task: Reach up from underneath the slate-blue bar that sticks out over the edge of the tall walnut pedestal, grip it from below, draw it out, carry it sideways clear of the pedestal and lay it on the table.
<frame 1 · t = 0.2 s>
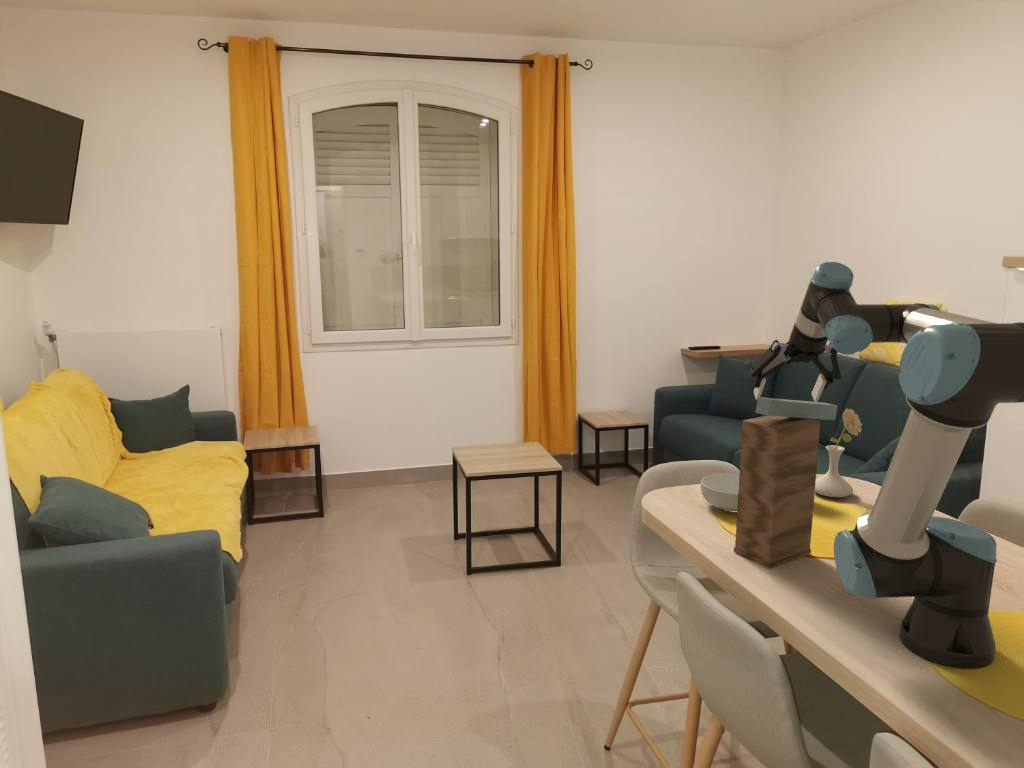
hand: (785, 396, 179), 36 cm above the table, tool tilted 35°, fingers open, 13 cm apart
cereal bowl: (731, 508, 209), on the table
flower in vase: (833, 494, 219), on the table
pedestal: (772, 553, 179), on the table
bar: (796, 416, 175), point 32 cm above the table, tilted 10°, touching pedestal
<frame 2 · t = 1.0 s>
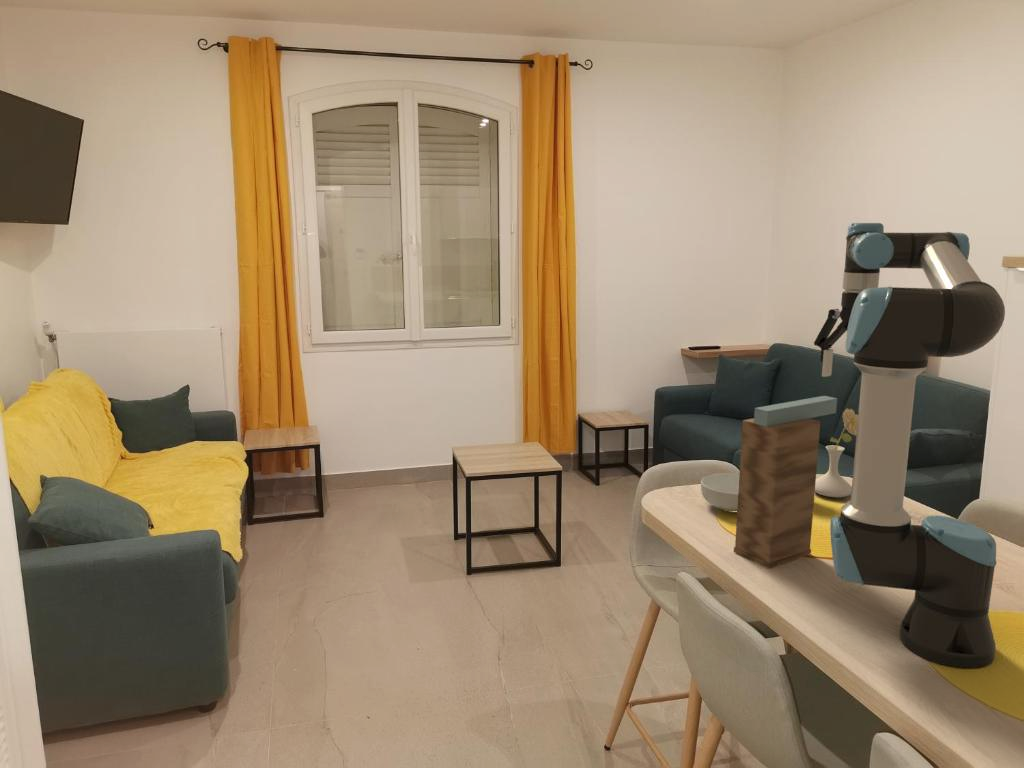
hand: (851, 380, 181), 39 cm above the table, tool pointing down, fingers open, 13 cm apart
bar: (796, 417, 176), point 32 cm above the table, touching pedestal
everything else where it was.
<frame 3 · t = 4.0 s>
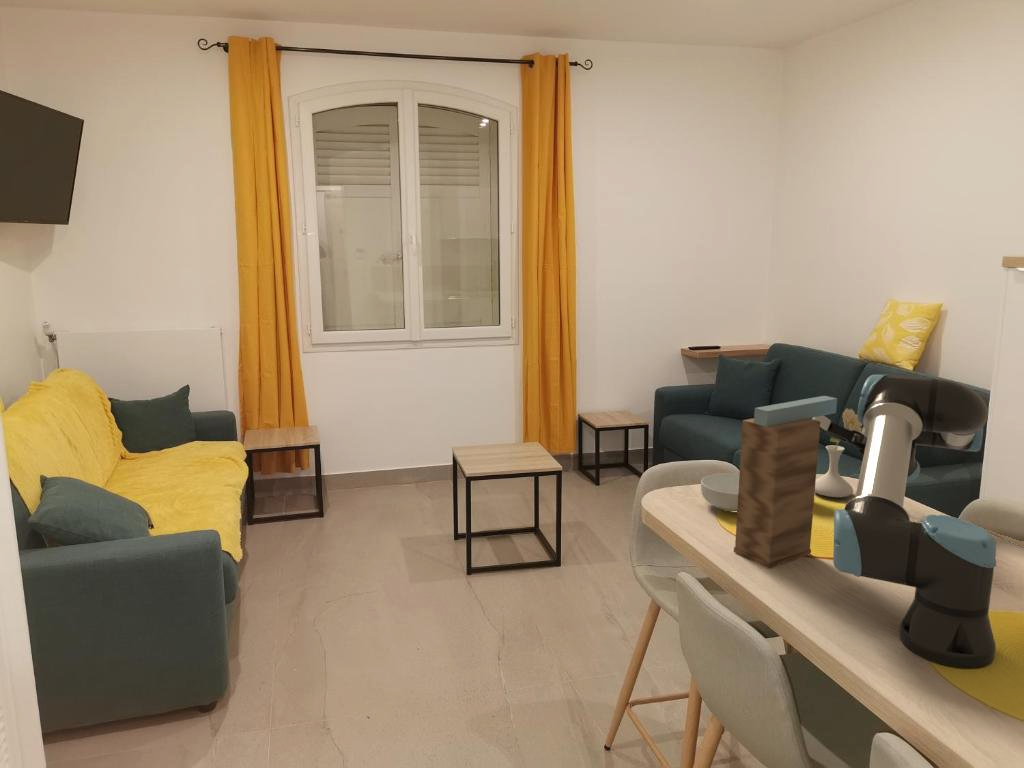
hand: (838, 421, 184), 29 cm above the table, tool pointing upward, fingers open, 13 cm apart
nothing on the table moved.
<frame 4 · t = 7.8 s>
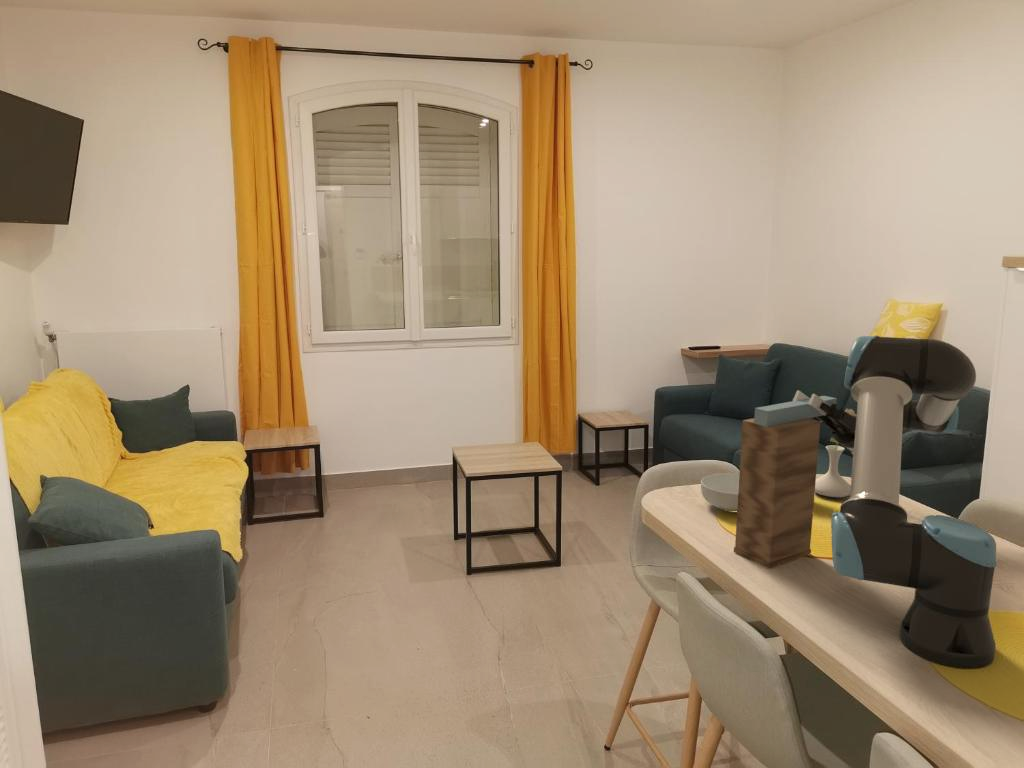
hand: (804, 397, 176), 37 cm above the table, tool pointing upward, fingers closed on bar, 3 cm apart
bar: (795, 417, 176), point 32 cm above the table, touching gripper, pedestal
everything else where it was.
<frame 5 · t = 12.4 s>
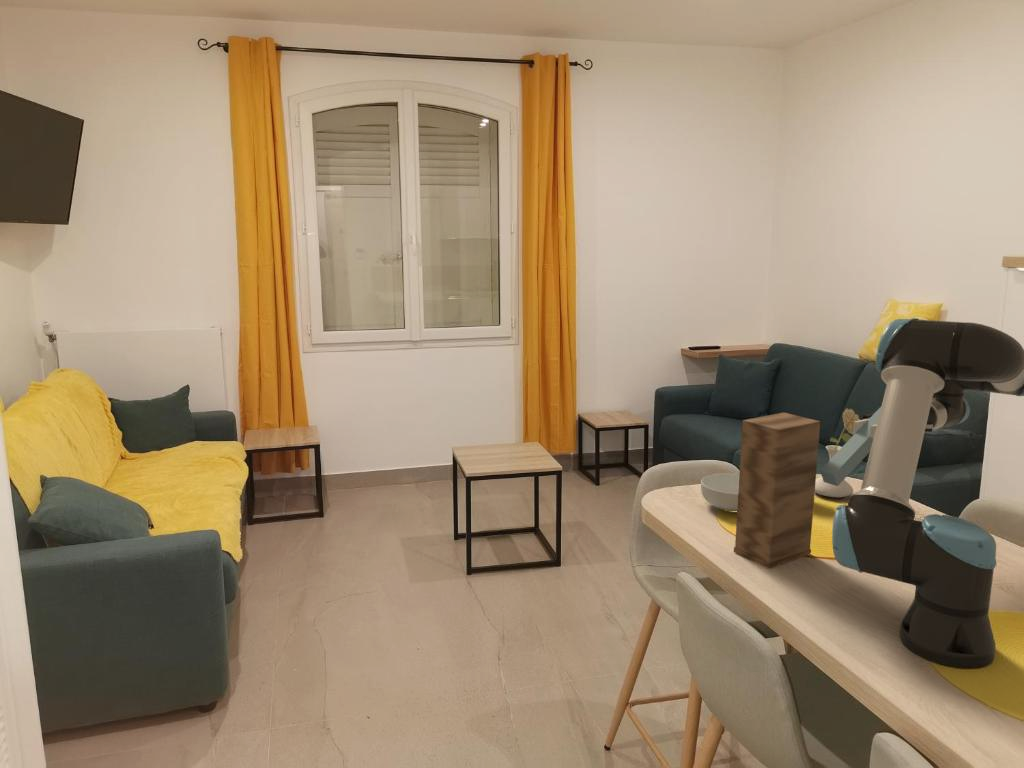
hand: (863, 429, 173), 30 cm above the table, tool horizontal, fingers closed on bar, 3 cm apart
bar: (861, 451, 174), point 25 cm above the table, tilted 30°, touching gripper
everything else where it was.
when the fingers open (7 cm above the table, at t = 16.5 s): bar drops 4 cm, on the table.
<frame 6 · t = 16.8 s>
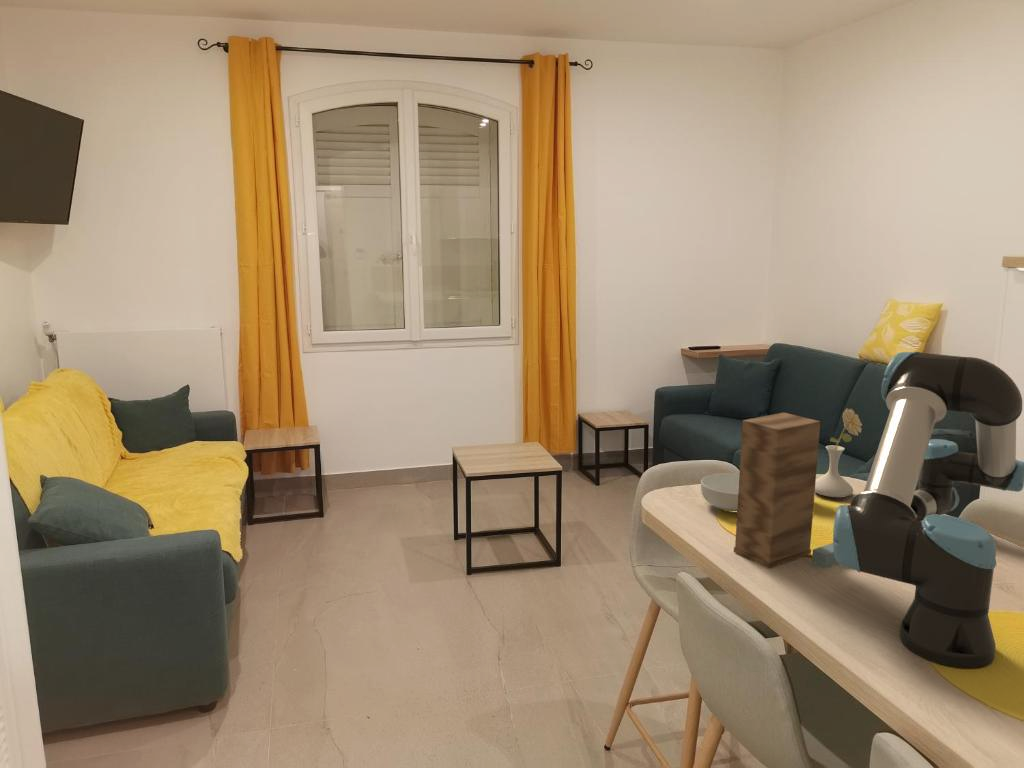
hand: (855, 526, 178), 7 cm above the table, tool horizontal, fingers open, 8 cm apart
bar: (851, 555, 179), on the table
everything else where it was.
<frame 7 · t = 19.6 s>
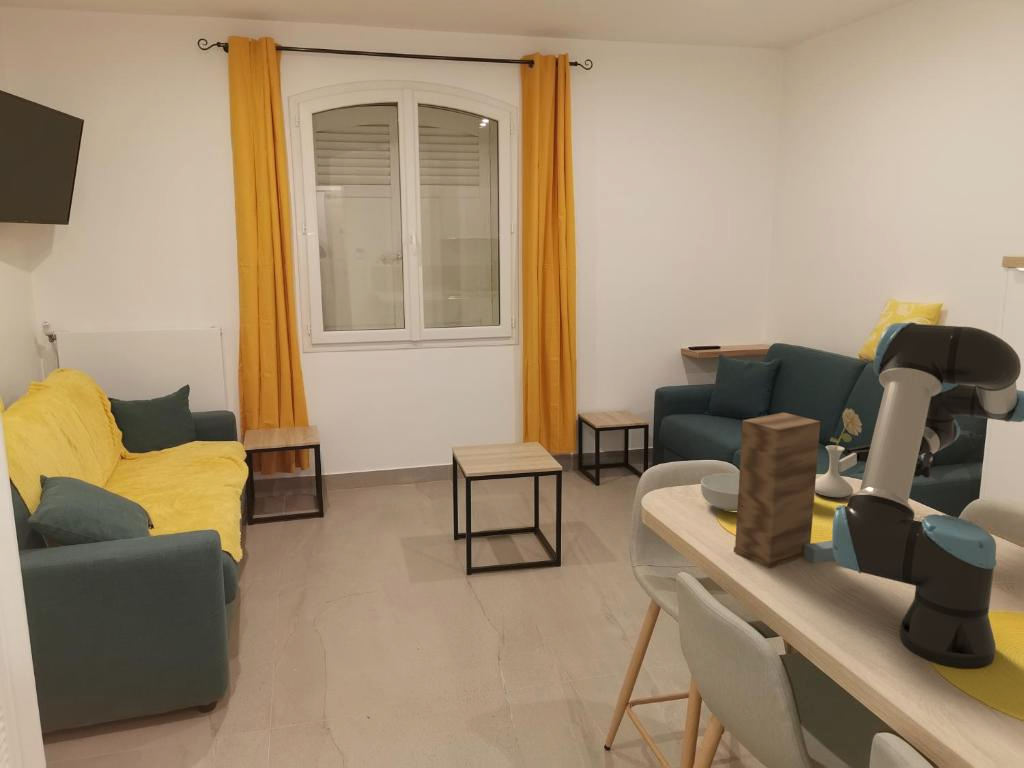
hand: (866, 473, 176), 19 cm above the table, tool horizontal, fingers open, 13 cm apart
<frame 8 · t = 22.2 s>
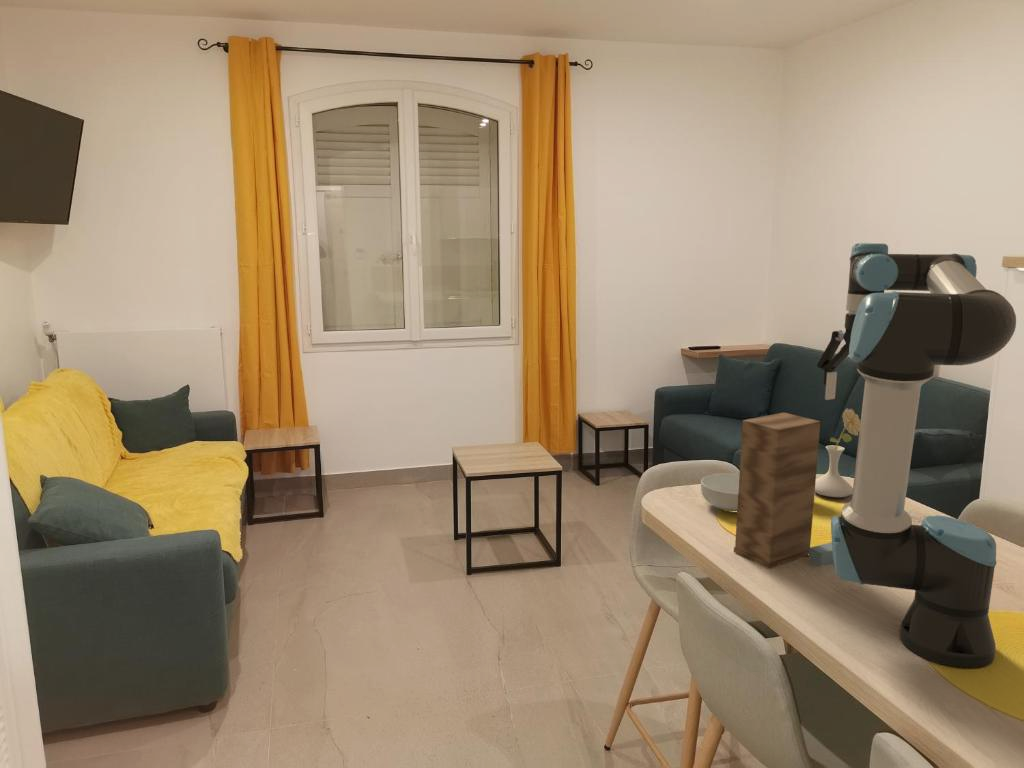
hand: (855, 404, 177), 35 cm above the table, tool pointing down, fingers open, 13 cm apart
at the end: bar inside the target area (0.6 cm from its centre), on the table; bar moved 35.5 cm from its start; the gripper is holding nothing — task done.
